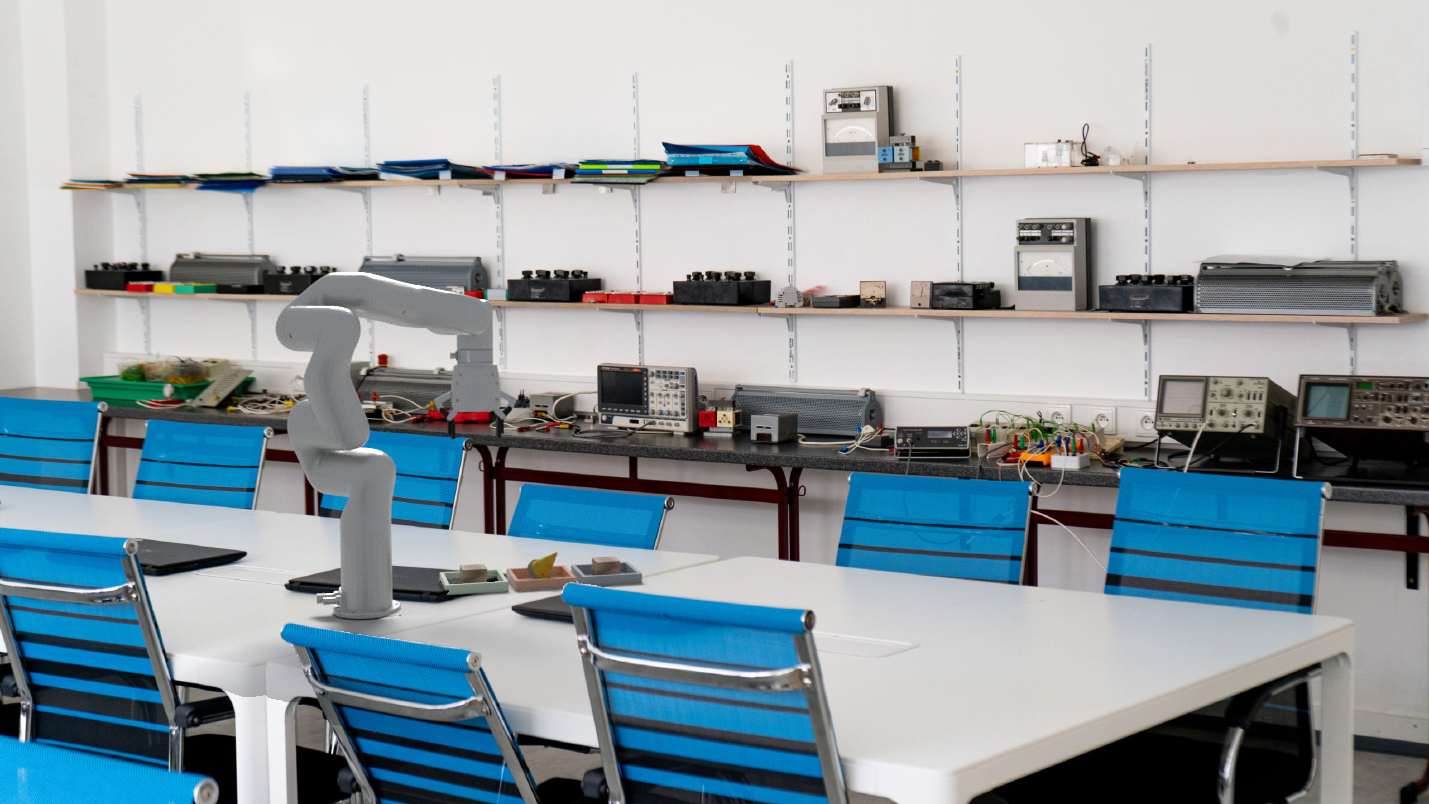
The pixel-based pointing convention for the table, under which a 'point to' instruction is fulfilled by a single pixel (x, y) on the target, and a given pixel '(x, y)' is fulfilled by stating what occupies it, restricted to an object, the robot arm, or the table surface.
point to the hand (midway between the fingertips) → (475, 438)
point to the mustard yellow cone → (542, 567)
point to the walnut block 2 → (605, 566)
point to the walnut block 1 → (473, 573)
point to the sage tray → (475, 587)
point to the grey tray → (626, 575)
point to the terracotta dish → (524, 582)
